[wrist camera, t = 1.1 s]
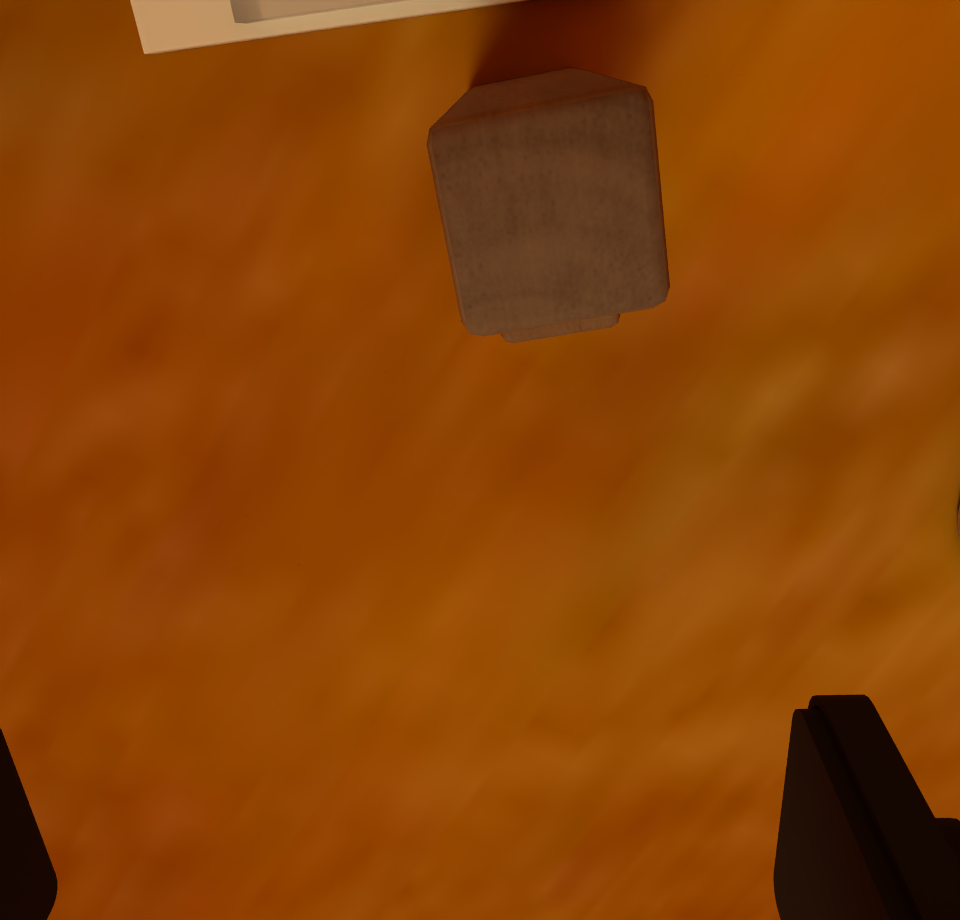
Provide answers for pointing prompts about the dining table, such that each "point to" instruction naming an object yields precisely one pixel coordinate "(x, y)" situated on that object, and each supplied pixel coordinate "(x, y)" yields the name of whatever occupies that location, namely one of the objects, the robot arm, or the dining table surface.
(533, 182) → the wooden block
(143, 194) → the dining table surface
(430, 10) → the dock tray
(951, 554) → the dining table surface
